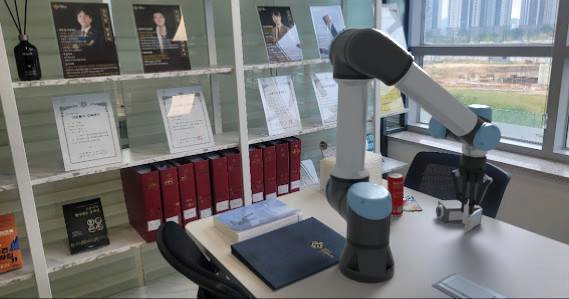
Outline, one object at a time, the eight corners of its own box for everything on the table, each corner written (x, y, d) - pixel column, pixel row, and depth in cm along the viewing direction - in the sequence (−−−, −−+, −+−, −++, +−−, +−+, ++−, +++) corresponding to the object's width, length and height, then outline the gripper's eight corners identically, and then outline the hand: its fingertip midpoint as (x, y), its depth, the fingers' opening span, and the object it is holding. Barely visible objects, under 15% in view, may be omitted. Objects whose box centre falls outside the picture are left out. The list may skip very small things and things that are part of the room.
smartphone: (402, 210, 158) (393, 196, 173) (402, 212, 158) (393, 197, 173) (423, 210, 158) (412, 195, 173) (423, 212, 158) (412, 197, 173)
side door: (468, 232, 140) (469, 218, 139) (464, 230, 141) (465, 216, 140) (482, 222, 147) (484, 209, 146) (478, 221, 148) (480, 208, 147)
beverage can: (405, 212, 158) (407, 173, 154) (399, 218, 152) (401, 178, 148) (389, 208, 161) (391, 170, 157) (383, 214, 155) (385, 175, 151)
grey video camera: (441, 223, 147) (443, 206, 146) (432, 214, 155) (434, 198, 153) (479, 222, 148) (481, 205, 146) (469, 213, 155) (471, 197, 154)
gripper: (449, 152, 138) (442, 220, 144) (490, 160, 129) (481, 232, 135) (458, 148, 143) (451, 213, 149) (499, 155, 134) (490, 224, 140)
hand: (466, 222), depth 142 cm, fingers closed
